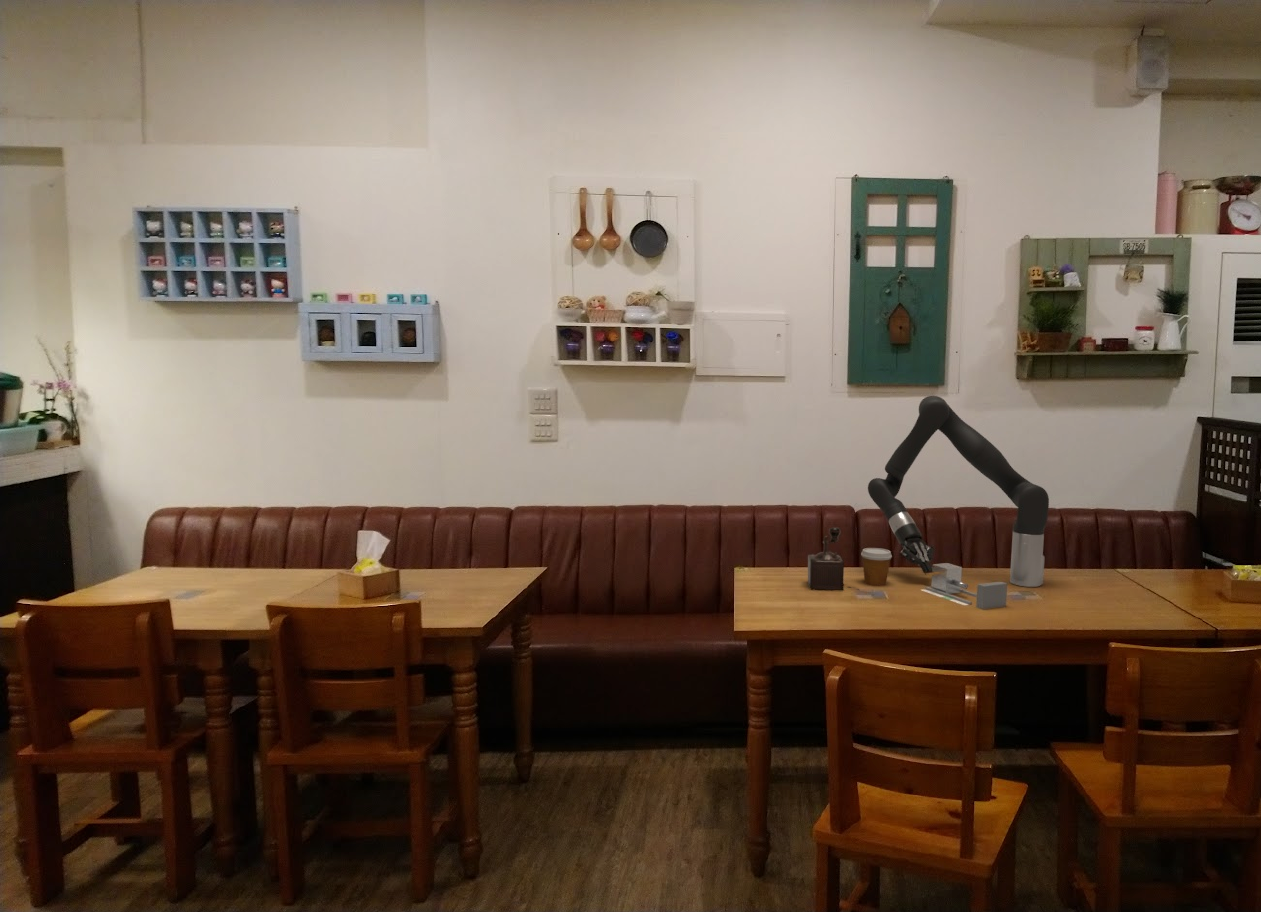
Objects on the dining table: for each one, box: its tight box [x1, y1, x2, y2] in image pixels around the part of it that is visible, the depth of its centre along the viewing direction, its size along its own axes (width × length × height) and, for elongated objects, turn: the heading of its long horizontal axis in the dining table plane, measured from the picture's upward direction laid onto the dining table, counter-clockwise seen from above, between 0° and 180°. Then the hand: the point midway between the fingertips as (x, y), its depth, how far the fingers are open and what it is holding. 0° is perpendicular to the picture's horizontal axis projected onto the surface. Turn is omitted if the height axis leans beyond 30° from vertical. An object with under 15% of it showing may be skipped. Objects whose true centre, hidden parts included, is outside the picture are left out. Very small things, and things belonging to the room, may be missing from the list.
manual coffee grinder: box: [807, 526, 845, 591], centre depth 261 cm, size 16×11×18 cm
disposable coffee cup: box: [860, 547, 893, 586], centre depth 258 cm, size 10×10×12 cm
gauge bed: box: [921, 581, 1008, 610], centre depth 242 cm, size 14×24×8 cm, turn 23°
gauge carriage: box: [925, 562, 969, 595], centre depth 245 cm, size 11×11×8 cm
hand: (929, 573), depth 255 cm, fingers closed
